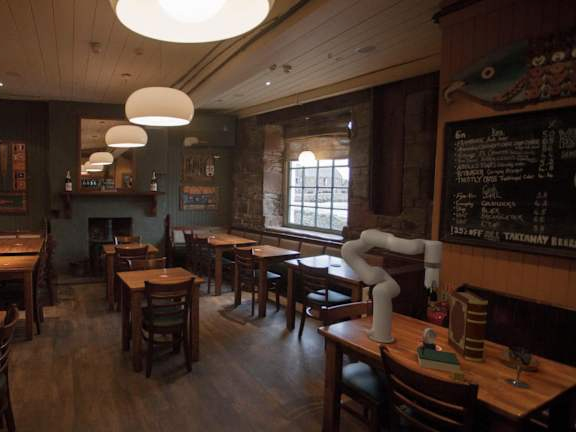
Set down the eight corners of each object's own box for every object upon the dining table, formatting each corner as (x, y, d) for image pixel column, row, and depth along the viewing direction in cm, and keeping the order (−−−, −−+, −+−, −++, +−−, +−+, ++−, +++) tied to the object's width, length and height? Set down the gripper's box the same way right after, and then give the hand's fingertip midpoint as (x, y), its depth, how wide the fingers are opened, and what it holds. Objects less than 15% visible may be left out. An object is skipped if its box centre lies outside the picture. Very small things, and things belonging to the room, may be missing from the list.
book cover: (419, 358, 184) (419, 348, 184) (416, 348, 196) (417, 338, 195) (460, 365, 177) (460, 355, 177) (455, 354, 189) (455, 344, 188)
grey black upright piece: (438, 349, 204) (439, 329, 203) (428, 352, 200) (429, 331, 199) (427, 345, 209) (428, 325, 208) (418, 348, 205) (419, 327, 204)
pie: (528, 360, 192) (528, 350, 191) (548, 375, 177) (549, 364, 176) (491, 356, 196) (492, 347, 195) (508, 371, 181) (509, 360, 180)
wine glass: (501, 379, 173) (503, 346, 171) (517, 379, 173) (520, 346, 172) (517, 388, 165) (520, 354, 163) (535, 388, 165) (537, 354, 164)
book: (420, 366, 184) (420, 358, 184) (417, 356, 196) (418, 348, 195) (459, 373, 178) (460, 365, 177) (454, 362, 189) (455, 354, 189)
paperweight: (453, 380, 171) (453, 372, 171) (451, 376, 175) (452, 368, 174) (464, 383, 169) (464, 374, 169) (462, 378, 173) (462, 370, 173)
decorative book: (485, 362, 189) (490, 302, 187) (467, 360, 191) (471, 301, 188) (463, 344, 211) (467, 289, 209) (447, 342, 213) (450, 289, 210)
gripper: (421, 261, 205) (420, 293, 206) (427, 268, 189) (425, 302, 190) (438, 262, 202) (437, 295, 203) (445, 269, 186) (443, 304, 187)
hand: (431, 298), depth 197 cm, fingers open, 9 cm apart
